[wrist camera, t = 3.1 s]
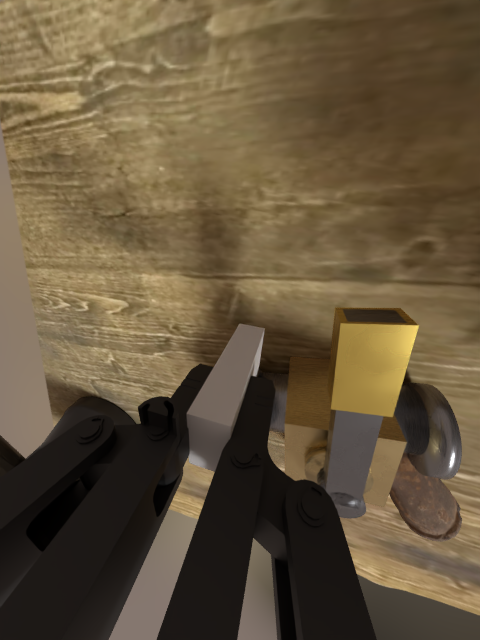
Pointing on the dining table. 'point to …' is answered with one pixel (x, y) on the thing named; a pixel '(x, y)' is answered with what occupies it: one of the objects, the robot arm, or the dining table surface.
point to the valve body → (394, 436)
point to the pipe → (425, 503)
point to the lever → (362, 396)
